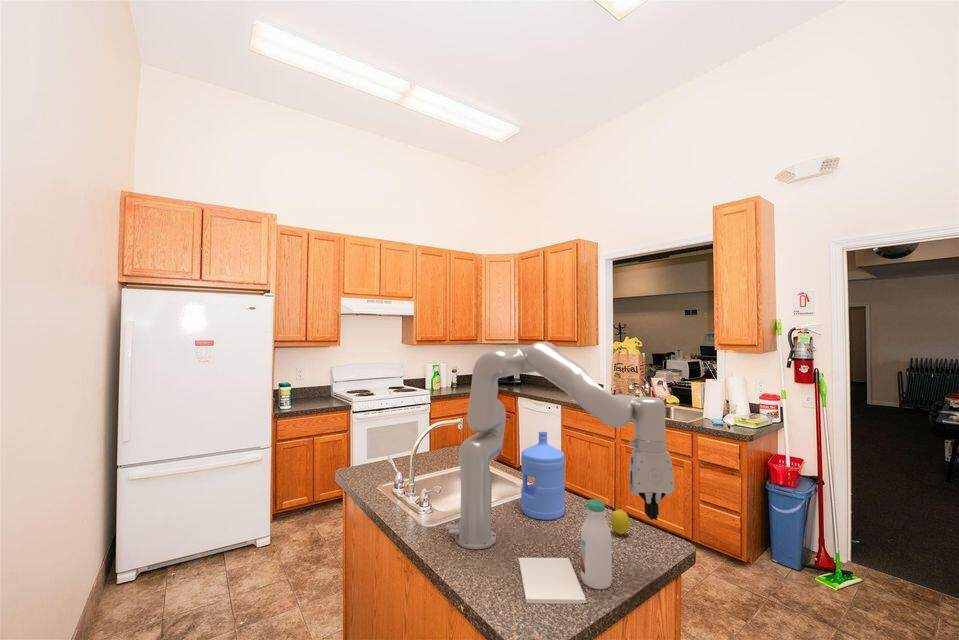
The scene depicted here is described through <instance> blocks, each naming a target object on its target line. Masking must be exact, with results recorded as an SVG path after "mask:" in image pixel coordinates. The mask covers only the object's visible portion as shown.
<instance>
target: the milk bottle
mask: <svg viewBox="0 0 959 640" xmlns="http://www.w3.org/2000/svg"><path fill="white" fill-rule="evenodd" d="M586 511H587V514H586V518H585V520H584V522H583V525H582V528H581V531H580V532H581V533H580V579H581V582H582V583H583V584H584V585H585V586H586V587H589V588H591V589H595V590H607V589H608V588H610V587H611V585H612V582H613V581H612V580H613V553H612V552H613V549H612V548H613V547H612V533H611V530H610V527H609V525H608V522H607V519H606V517H605V516H606V515H605V513H606V503H605V502H604V501H603V500H602V499H596V498H592V499H588V500H587V501H586Z"/></svg>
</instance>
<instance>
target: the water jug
mask: <svg viewBox="0 0 959 640" xmlns="http://www.w3.org/2000/svg"><path fill="white" fill-rule="evenodd" d="M520 462H521V472H522V487H521V490H520V491H521V492H520V493H521V498H520V500H521V501H520V510H521V512H522V513H523V514H524V515H526V516H527V517H529V518H533V519H536V520H540V519H541V521H552V520H556V519H558V518H561V517H562V516H564V514H565V511H566V508H565V507H566V506H565V490H566V489H565V488H566V485H565V466H566V459H565V453H564V452H563V451H562V450H560V449H558V448H556V447H554V446H552V445H550V444H548V432H547V431H538V443H536V444H534V445H532V446H531V445H530V446H529V447H527V448H524V449H522V451H521V457H520ZM528 477H532V478H534V483H532V484H530V483H529V484H528Z"/></svg>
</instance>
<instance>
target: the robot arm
mask: <svg viewBox="0 0 959 640" xmlns="http://www.w3.org/2000/svg"><path fill="white" fill-rule="evenodd" d="M534 372H536V373H537V374H538V375H540V376H542V377H543V378H544V379H546V380H548V381H549V382H551V384H553V385H555V386H556V387H558V388H559V389H560V390H562V391H564V392H565V393H566V394H567V396H568V397H569V398H571V399H572V400H573V401H574V402H576V403H577V405H578V406H580V407H581V408H582V409H583V410H585V411H586V412H587V413H588V414H590V415H592V416H593V417H594V418H596V419H597V420H599V421H601V422H602V423H604V424H605V425H606V426H608V427H611V428H618V429H619V428H623V427H626V426H627V425H628V424H629V423H630V422H633V425H634V426H633V427H634V429H633V432H634V435H633V436H634V437H633V439H632V440H629V442H628V444H629V445H628V446H629V447H633V448H632V450H631V455H630V459H629V462H630V463H629V476H628V477H629V481H628V482H629V485H630V488H629V493H630V494H631V495H633V496H637V497H640V498H641V499H642V500H643V501H644V502H643V503H644V514H645V515H646V517H647V518H649V520H651V521H653V520H655V521H656V520H658V515H659V514H660V513H659V512H660V511H659V504H660V503H661V501H662V500H663V498H665V497H668V496H671V495H672V494H673V491H674V490H675V479H674V478H675V475H674V470H673V469H674V468H673V463H672V459H671V453H670V452H669V451H668V450H667V447H666V446H667V445H666V444H667V441H666V438H667V437H666V408H665V407H666V405H665V401H664V400H663V399H661V398H659V397H654V396H632V395H627V394H621V393H618V394H612V393H611V392H610V391H608V390H606V389H605V388H603V387H602V386H600V385H599V384H598V383H596V381H594V380H593V379H592V378H591V376H589V373H587V371H586V369H585V368H584V367H583V366H581V365H579V364H578V363H577V362H575V361H573V360H572V359H570V358H568V357H567V356H565V355H564V354H563V353H561V352H560V350H559V348H558V347H557V346H556V345H555V344H553V343H551V342H549V341H537V342H534V343H532V344H530V345H526V346H521V347H514V348H499V349H494V350H490V351H488V352H486V353H484V354H482V355H481V356H480V357H479V358H478V359H477V360H476V361H475V363H474V366H473V370H472V375H471V387H470V392H469V400H468V405H467V406H468V407H467V414H466V421H467V422H466V423H467V425H468V427H469V429H470V430H471V431H473V432H474V434H473V435H471V436H468V437H467V438H465V440H463V442H462V443H461V444H460V446H459V449H458V461H459V467H460V468H459V469H460V520H459V523H456V524H451V523H447V524H445V531H446V532H449V535H454V538H455V542H456V544H457V545H458V546H459V547H462V548H465V549H469V550H484V549H487V548H489V547H492V546H493V545H494V544H495V543H496V541H497V534H496V532H495V531H493V530H492V499H493V498H492V493H493V492H492V489H493V488H492V486H493V485H492V481H493V480H492V473H491V470H490V469H491V468H490V462H491V461H493V460H494V459H495V458H497V457H498V456H499V455H500V453H501V451H502V449H503V444H504V438H505V437H504V436H505V429H506V420H507V411H506V408H505V405H504V404H503V402H502V401H501V400H500V399H498V394H499V383H498V380H499V379H500V378H506V377H510V376H511V377H512V376H516V375H521V374H529V373H534ZM475 432H476V433H475Z"/></svg>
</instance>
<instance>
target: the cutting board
mask: <svg viewBox="0 0 959 640" xmlns="http://www.w3.org/2000/svg"><path fill="white" fill-rule="evenodd" d="M518 565H519V571H520V577H521V583H522V586H523V587H522V588H523V591H524V593H523V594H524V600H525V604H529V605H530V604H534V605H535V604H538V605H539V604H540V605H541V604H544V605H546V604H547V605H548V604H549V605H551V604H552V605H555V604H556V605H585V604H584V603H586V604H587V599H586V598H587V597H586V596H585V594H584V592H583V589H582V587H581V585H580V581H579V580H578V577H577V575H576V573H575V570H574V568H573V565H572V562H571V560H570V558H569V557H518ZM582 603H583V604H582Z"/></svg>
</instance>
